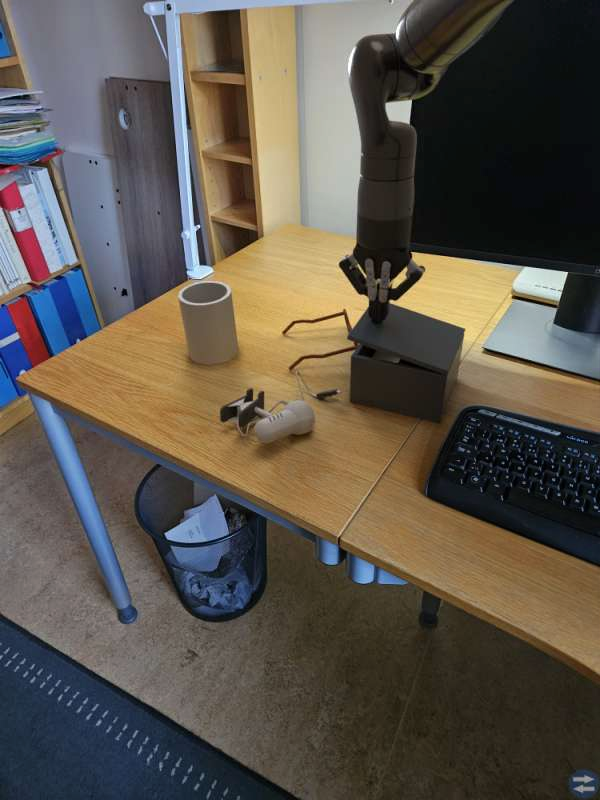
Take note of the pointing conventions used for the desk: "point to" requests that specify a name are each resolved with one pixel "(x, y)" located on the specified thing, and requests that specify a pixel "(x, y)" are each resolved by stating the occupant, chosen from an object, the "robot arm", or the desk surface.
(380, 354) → the block
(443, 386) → the box
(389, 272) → the robot arm
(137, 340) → the desk surface
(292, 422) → the clip-on lamp
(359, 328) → the box lid
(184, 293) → the cup
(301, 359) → the glasses
